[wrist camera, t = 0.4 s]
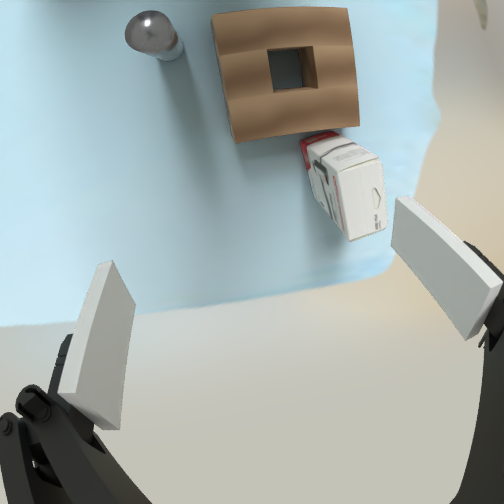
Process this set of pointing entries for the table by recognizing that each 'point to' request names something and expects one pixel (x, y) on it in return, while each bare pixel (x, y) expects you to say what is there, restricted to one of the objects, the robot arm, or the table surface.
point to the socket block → (312, 66)
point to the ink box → (346, 183)
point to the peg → (154, 36)
